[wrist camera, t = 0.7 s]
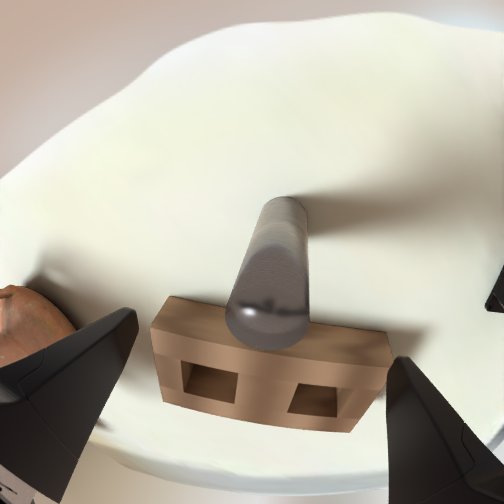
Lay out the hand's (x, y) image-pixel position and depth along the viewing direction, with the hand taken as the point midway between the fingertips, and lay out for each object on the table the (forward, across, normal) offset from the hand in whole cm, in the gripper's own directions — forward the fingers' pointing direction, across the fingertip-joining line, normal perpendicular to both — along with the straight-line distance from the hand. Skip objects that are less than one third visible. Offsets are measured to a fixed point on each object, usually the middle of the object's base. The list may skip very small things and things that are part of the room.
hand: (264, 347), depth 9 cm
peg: (+11, 0, 0) cm, 11 cm away
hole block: (+11, -1, +13) cm, 17 cm away
